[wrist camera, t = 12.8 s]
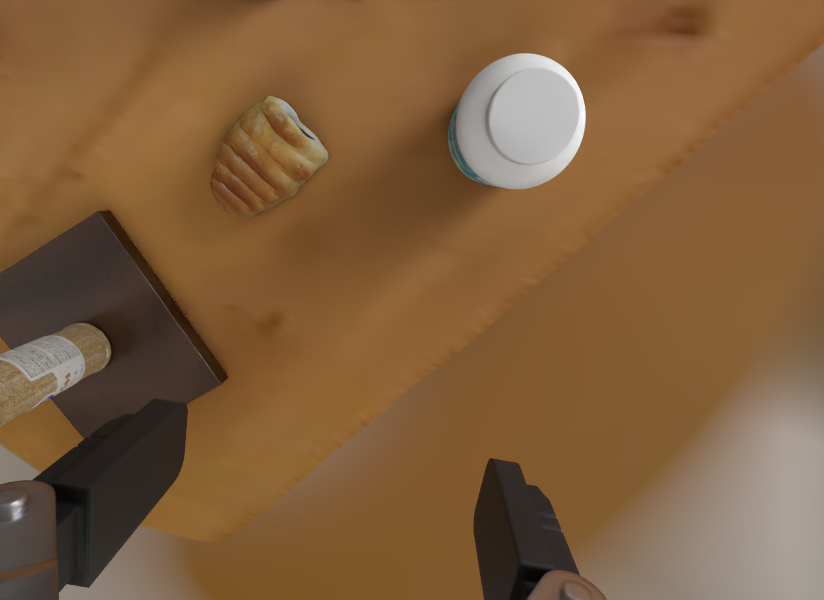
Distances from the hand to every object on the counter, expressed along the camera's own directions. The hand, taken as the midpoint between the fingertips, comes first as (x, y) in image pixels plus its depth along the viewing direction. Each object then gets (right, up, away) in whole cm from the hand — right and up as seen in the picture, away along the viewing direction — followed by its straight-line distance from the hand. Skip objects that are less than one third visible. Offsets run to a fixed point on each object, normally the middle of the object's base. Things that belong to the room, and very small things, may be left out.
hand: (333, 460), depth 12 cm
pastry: (-9, +15, +25) cm, 31 cm away
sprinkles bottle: (-26, 0, +28) cm, 38 cm away
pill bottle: (+8, +17, +25) cm, 31 cm away
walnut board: (-25, +1, +29) cm, 38 cm away
